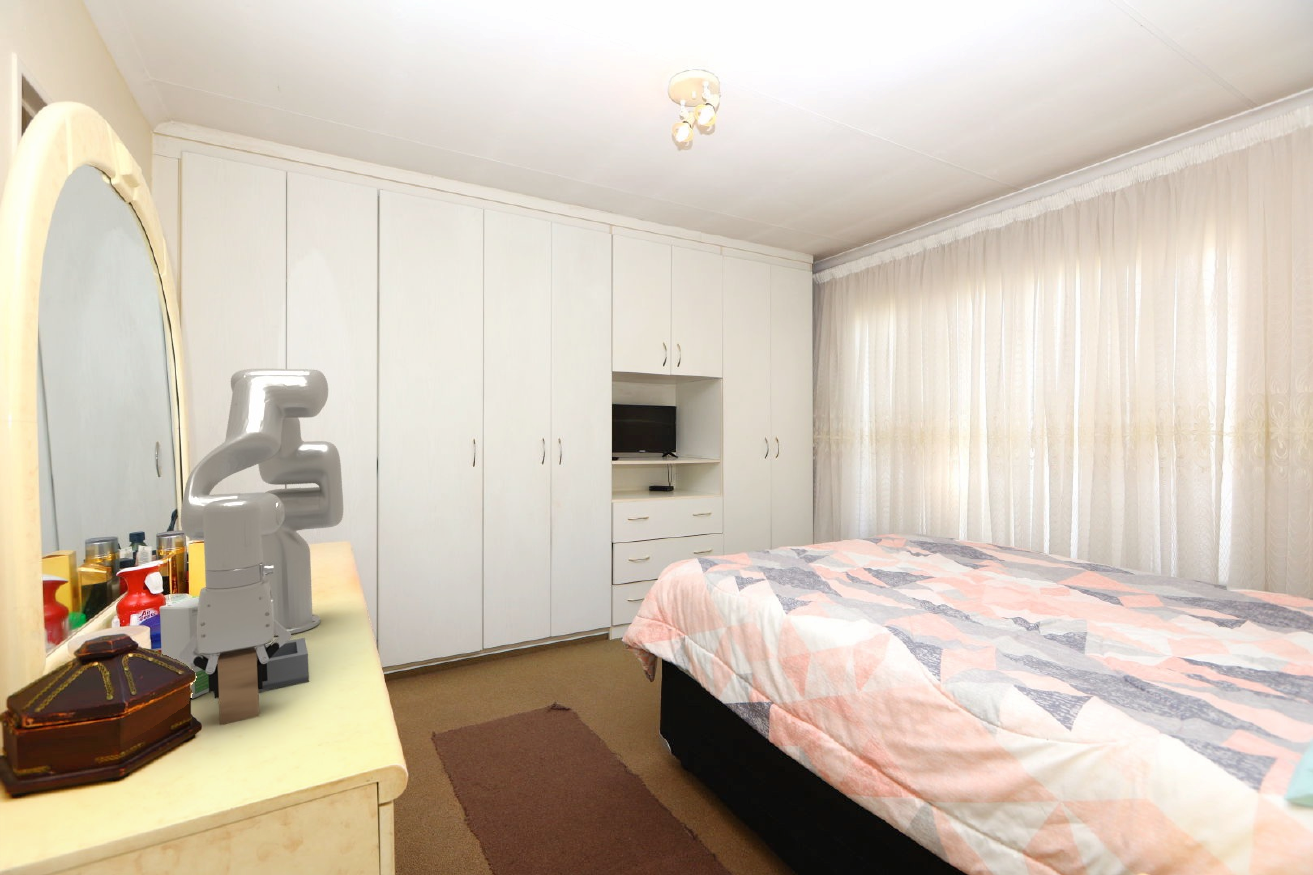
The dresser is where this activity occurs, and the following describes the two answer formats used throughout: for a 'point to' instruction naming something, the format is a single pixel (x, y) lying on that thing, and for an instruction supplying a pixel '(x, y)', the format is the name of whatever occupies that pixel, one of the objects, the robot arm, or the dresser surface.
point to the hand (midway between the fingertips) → (239, 689)
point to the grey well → (287, 665)
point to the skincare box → (182, 637)
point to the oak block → (238, 685)
